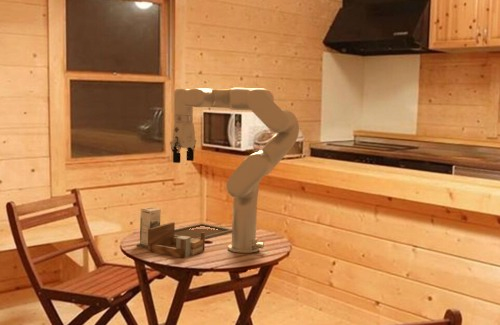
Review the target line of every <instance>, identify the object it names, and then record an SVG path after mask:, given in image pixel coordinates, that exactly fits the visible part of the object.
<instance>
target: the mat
mask: <svg viewBox="0 0 500 325" xmlns="http://www.w3.org/2000/svg"><path fill="white" fill-rule="evenodd" d="M136 247H140V248H146V249H148V246H147V245H143V244H140V243H137V244H136Z"/></svg>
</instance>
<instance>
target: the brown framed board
mask: <svg viewBox="0 0 500 325" xmlns="http://www.w3.org/2000/svg"><path fill="white" fill-rule="evenodd" d="M200 226H205V227H210V228H215V230H213V229H212V230H211V229H208V230H207V229H194V230H191V229H192V228H196V227H200ZM190 228H191V229H190ZM189 229H190V230H189ZM216 229H218V230H216ZM201 232H205V240H206V239H207V240H208V239H212V238H215V237H220V236H223V235H228V234H232V228H227V227H224V226H219V225H213V224H209V223H204V222H203V223H201V222H200V223H197V224H193V225H189V226H183V227H179V228H175V232H174V237H176V238H177V237H180V236H188V237H191V238H194V239H201Z"/></svg>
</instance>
